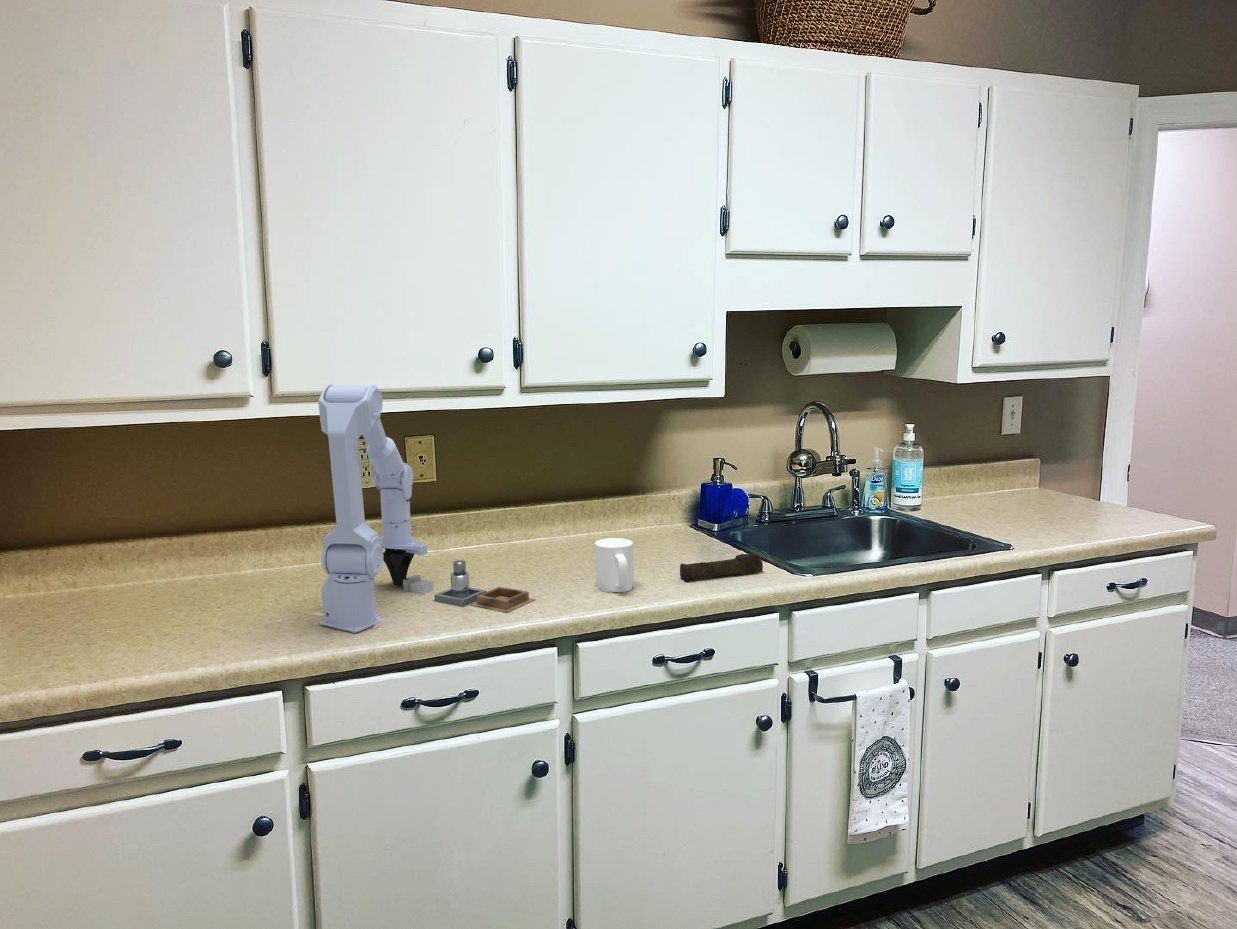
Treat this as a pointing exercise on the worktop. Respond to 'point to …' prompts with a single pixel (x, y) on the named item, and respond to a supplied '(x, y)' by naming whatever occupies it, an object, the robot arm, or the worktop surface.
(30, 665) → the worktop surface
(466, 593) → the stepped metal cylinder
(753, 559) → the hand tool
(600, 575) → the mug
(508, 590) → the brown square tray
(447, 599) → the grey square tray
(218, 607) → the worktop surface
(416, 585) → the grey stepped block
